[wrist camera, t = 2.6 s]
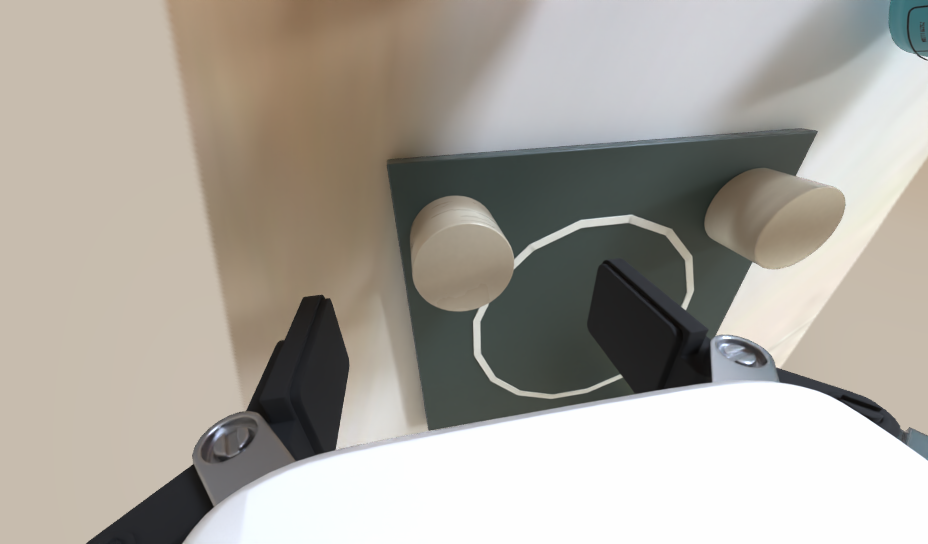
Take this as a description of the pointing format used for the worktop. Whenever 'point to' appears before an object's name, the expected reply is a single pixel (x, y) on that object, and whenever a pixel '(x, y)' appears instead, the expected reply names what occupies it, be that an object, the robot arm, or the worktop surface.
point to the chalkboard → (573, 259)
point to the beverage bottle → (910, 25)
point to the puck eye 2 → (773, 216)
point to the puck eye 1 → (459, 254)
